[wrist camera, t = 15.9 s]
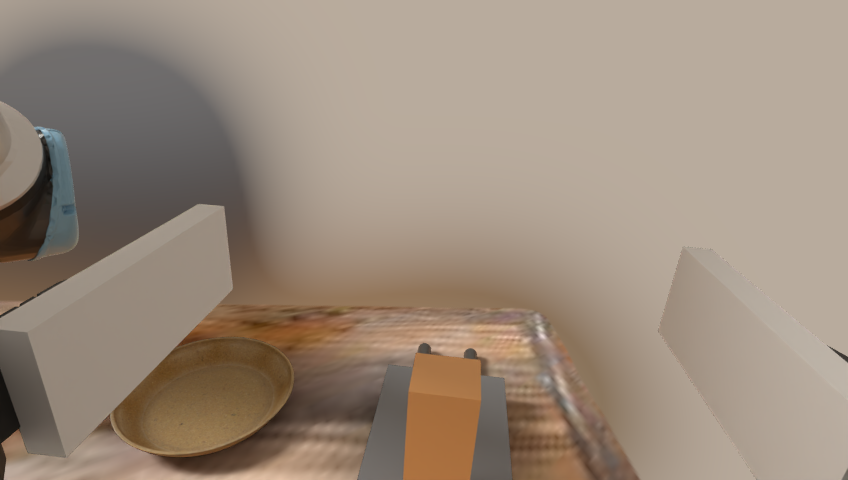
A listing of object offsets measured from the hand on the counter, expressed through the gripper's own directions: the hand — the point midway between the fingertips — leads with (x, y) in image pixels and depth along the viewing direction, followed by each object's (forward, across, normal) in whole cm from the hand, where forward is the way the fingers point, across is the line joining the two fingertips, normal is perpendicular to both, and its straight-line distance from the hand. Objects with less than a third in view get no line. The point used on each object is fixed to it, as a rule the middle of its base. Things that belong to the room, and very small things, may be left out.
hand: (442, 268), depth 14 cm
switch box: (+19, +1, -26) cm, 32 cm away
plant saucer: (+20, -20, -26) cm, 38 cm away
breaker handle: (+10, +1, -22) cm, 25 cm away
